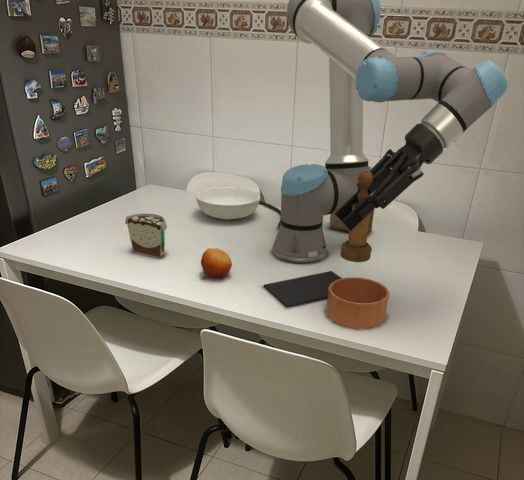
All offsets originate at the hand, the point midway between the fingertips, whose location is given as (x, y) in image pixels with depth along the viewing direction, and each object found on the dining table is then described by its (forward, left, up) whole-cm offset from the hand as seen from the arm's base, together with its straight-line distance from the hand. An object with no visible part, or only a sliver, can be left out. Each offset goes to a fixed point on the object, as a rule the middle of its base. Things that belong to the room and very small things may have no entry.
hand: (342, 222), depth 107 cm
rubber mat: (-12, +1, -21) cm, 24 cm away
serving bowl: (-70, +4, -21) cm, 74 cm away
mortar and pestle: (+1, +4, -8) cm, 9 cm away
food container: (-50, -27, -21) cm, 61 cm away
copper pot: (+3, +4, -21) cm, 22 cm away
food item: (-43, +34, -21) cm, 59 cm away
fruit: (-29, -17, -21) cm, 40 cm away
